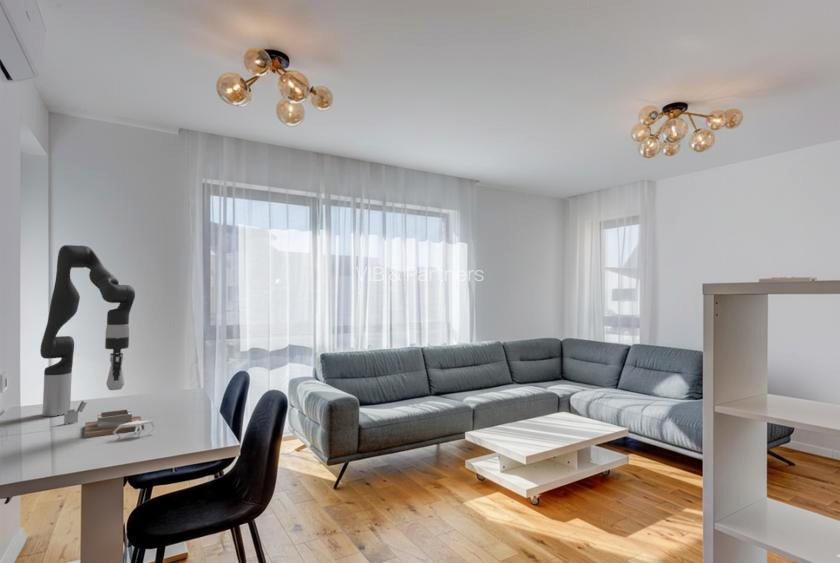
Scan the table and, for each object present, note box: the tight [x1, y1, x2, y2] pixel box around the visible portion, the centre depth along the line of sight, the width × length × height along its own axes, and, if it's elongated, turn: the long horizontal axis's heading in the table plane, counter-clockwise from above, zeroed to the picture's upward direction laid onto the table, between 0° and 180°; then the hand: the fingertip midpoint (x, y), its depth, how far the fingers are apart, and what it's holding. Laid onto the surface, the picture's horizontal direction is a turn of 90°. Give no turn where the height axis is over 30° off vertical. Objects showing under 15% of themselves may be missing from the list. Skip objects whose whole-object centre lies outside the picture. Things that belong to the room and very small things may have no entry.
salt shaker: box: [106, 357, 126, 391], centre depth 171 cm, size 6×6×13 cm
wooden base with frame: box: [84, 408, 145, 439], centre depth 170 cm, size 18×18×6 cm
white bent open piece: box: [113, 420, 156, 439], centre depth 160 cm, size 12×8×5 cm
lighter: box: [63, 400, 88, 425], centre depth 178 cm, size 7×2×8 cm, turn 149°
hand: (115, 380), depth 171 cm, fingers closed on salt shaker, 3 cm apart
